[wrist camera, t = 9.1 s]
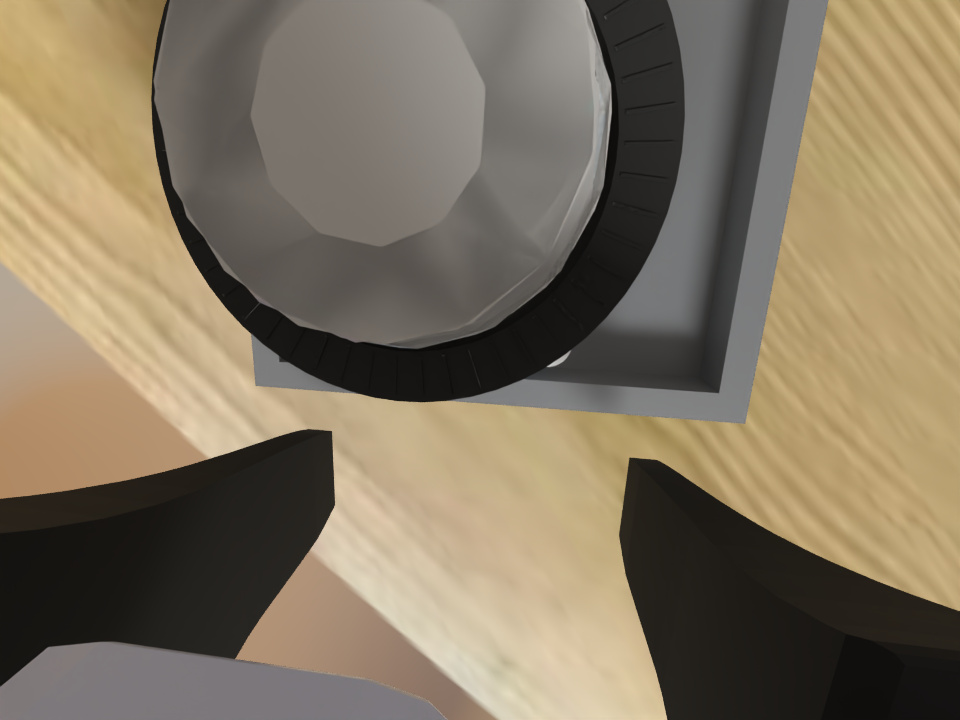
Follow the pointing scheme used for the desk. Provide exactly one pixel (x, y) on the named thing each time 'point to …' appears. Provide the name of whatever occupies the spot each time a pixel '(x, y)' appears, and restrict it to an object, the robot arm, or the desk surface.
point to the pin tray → (690, 233)
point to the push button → (419, 176)
